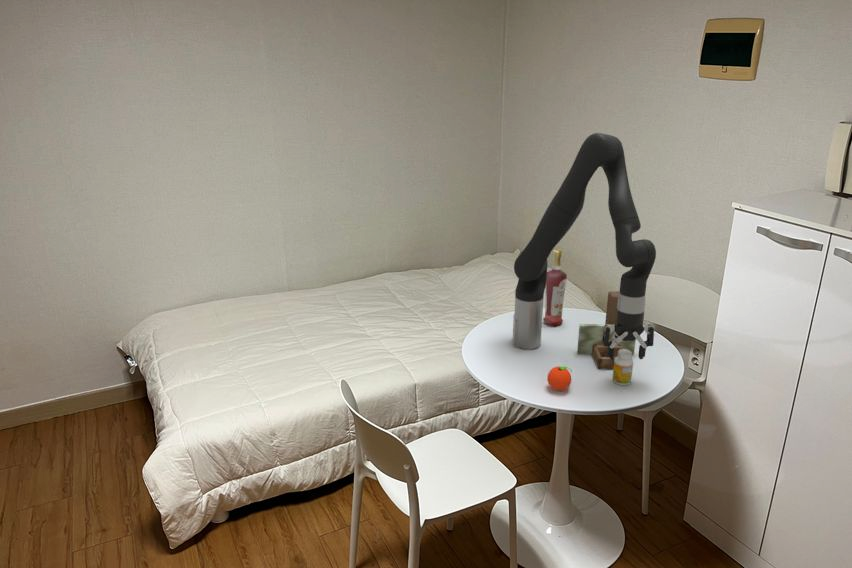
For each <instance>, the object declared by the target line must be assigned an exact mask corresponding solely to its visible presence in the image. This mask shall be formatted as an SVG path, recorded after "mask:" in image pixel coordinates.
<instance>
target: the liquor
mask: <svg viewBox="0 0 852 568" xmlns="http://www.w3.org/2000/svg"><path fill="white" fill-rule="evenodd" d="M561 259H562V249H561V248H553V263H552V269H551V270H549V271H547V278H546V287H545V290H544V295H545V301H544V302H545V304H544V305H545V307H544V310H545V312H544V318H543V321H544V322H545V324H547V326H548V325H549V326H551V327H556V326H559V325H560V324H561V323H563V321H564V320H563V309H564V301H565V300H564V299H565V292H566V286H567V277H568V274H567V273H566V272H564V271H563V270H562V269H561V268H562V267H561V266H562V265H561V264H562V263H561Z"/></svg>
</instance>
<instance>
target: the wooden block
mask: <svg viewBox="0 0 852 568" xmlns="http://www.w3.org/2000/svg"><path fill="white" fill-rule="evenodd" d="M619 292H620V290H618V291H608V292H607V302H606V312H605V313H606V314H605V320H604V321H605V323H604V324H610V325H615V324H616V315H617V303H618V297H619Z"/></svg>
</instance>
